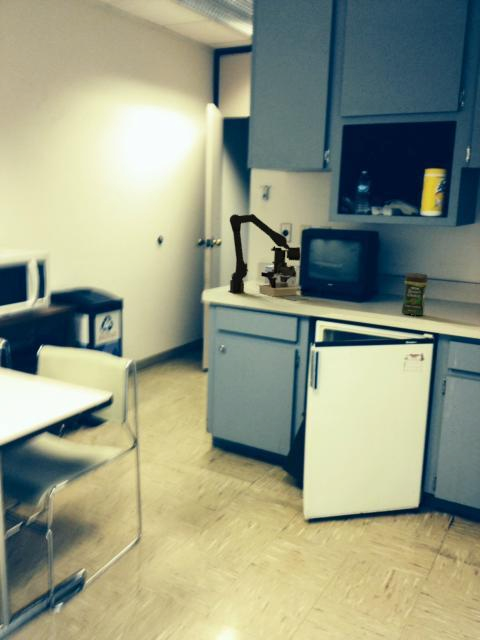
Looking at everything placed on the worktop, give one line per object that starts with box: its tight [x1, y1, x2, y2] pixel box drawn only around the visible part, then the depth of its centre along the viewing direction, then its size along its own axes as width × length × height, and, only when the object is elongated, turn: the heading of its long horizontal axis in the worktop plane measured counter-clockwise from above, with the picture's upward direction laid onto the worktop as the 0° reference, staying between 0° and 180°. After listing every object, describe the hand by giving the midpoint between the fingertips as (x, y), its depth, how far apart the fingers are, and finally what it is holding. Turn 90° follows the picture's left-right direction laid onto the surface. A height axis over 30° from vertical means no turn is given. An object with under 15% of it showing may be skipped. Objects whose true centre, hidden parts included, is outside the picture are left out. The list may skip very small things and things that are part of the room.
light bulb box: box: [264, 264, 280, 284], centre depth 352 cm, size 11×7×11 cm, turn 136°
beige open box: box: [256, 283, 300, 297], centre depth 320 cm, size 15×18×4 cm
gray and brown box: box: [269, 281, 288, 288], centre depth 320 cm, size 5×9×6 cm, turn 34°
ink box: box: [280, 265, 298, 287], centre depth 341 cm, size 9×5×12 cm, turn 73°
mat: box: [281, 295, 310, 302], centre depth 307 cm, size 10×9×1 cm
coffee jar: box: [401, 272, 428, 316], centre depth 275 cm, size 10×8×19 cm
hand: (278, 290), depth 320 cm, fingers closed on gray and brown box, 5 cm apart
